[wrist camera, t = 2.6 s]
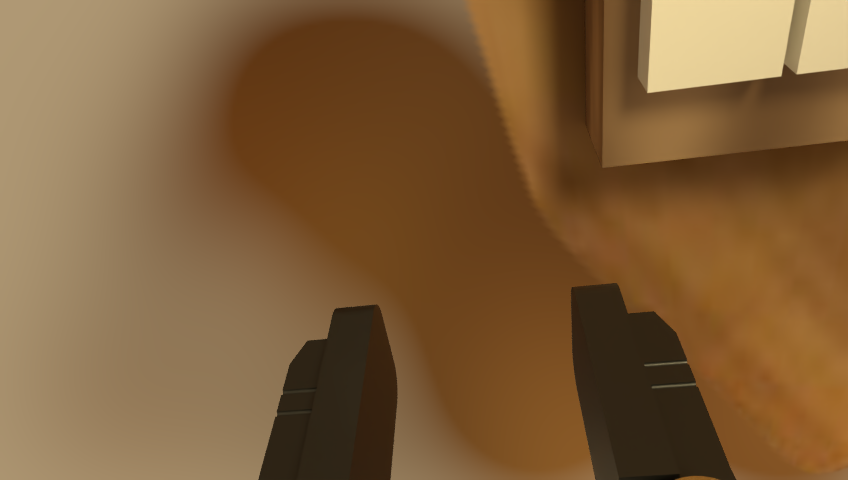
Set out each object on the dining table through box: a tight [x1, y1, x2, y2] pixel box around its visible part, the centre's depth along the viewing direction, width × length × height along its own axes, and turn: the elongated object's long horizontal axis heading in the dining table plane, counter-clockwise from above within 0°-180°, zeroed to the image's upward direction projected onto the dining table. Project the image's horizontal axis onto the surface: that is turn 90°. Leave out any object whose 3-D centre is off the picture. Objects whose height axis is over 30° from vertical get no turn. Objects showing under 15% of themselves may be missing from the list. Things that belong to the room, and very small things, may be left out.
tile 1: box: [638, 0, 795, 93], centre depth 22 cm, size 4×4×2 cm
